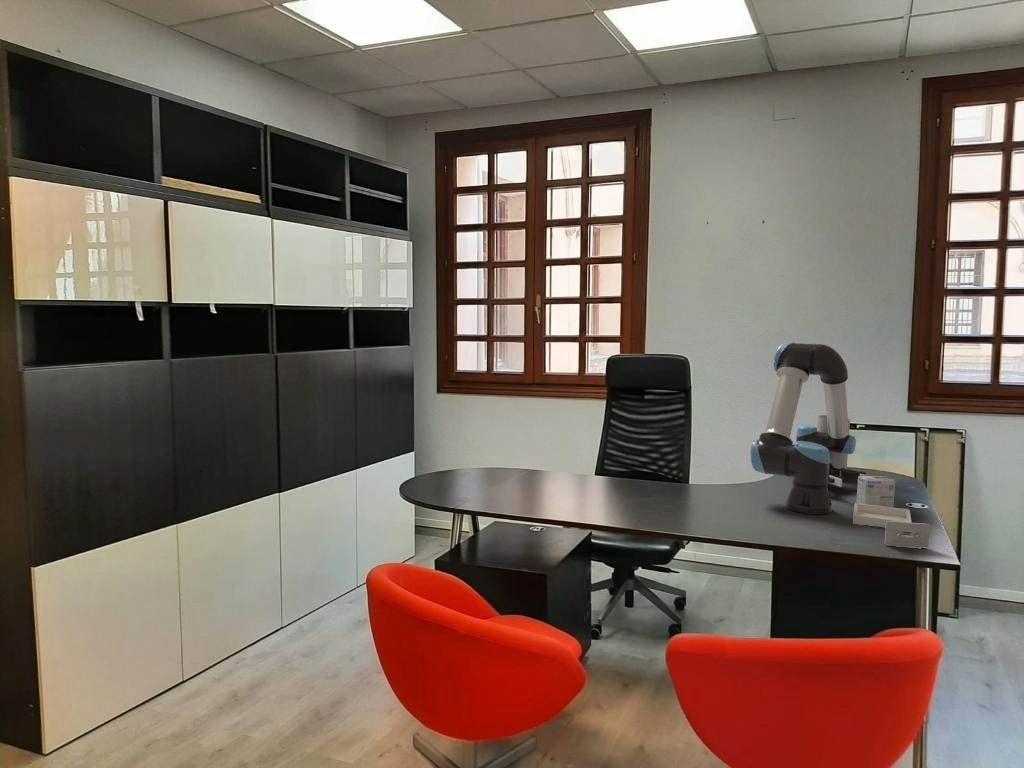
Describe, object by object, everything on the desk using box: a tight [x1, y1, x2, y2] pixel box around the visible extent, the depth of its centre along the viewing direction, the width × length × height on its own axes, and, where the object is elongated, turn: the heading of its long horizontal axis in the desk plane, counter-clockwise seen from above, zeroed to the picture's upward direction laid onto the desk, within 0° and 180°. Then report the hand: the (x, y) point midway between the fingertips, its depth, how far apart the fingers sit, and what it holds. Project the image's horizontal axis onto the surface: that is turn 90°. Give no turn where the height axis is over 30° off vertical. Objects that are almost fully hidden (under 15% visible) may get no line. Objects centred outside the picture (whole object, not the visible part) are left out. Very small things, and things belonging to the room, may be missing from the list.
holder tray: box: [852, 502, 913, 527], centre depth 249 cm, size 17×17×3 cm
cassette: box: [883, 521, 931, 548], centre depth 223 cm, size 12×2×8 cm, turn 77°
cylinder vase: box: [816, 414, 851, 480], centre depth 311 cm, size 12×12×25 cm
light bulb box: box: [856, 475, 896, 508], centre depth 265 cm, size 11×7×11 cm, turn 92°
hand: (857, 482), depth 275 cm, fingers open, 13 cm apart
